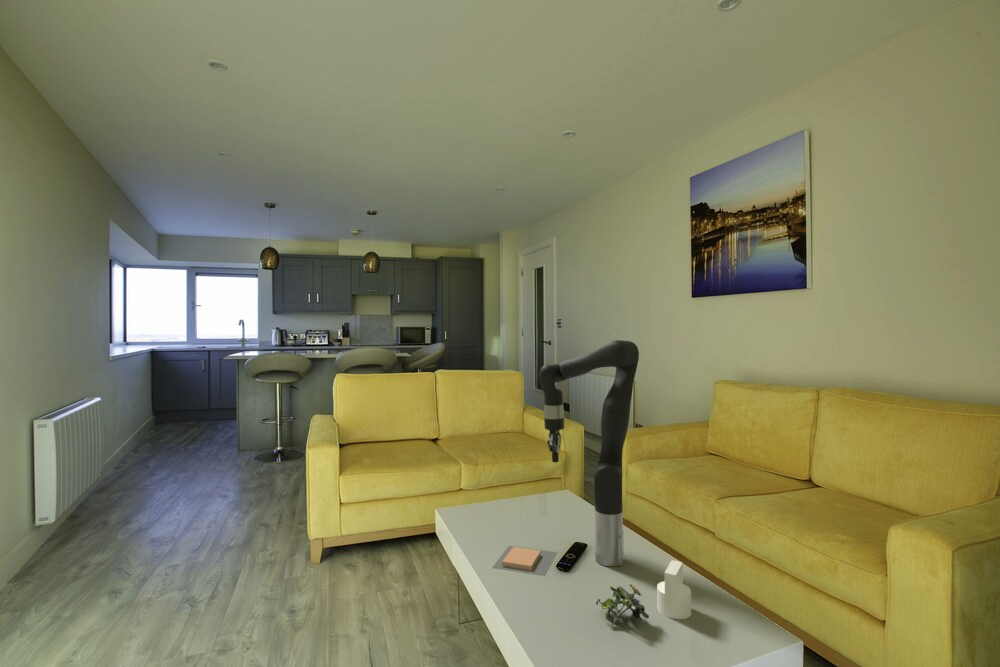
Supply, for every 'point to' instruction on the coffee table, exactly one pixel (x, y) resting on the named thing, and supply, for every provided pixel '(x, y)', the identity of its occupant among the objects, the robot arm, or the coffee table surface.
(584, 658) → the coffee table surface
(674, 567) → the cylinder with rectangular tab
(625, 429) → the robot arm
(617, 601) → the passion flower
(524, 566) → the tile
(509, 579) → the coffee table surface
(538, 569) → the mat
